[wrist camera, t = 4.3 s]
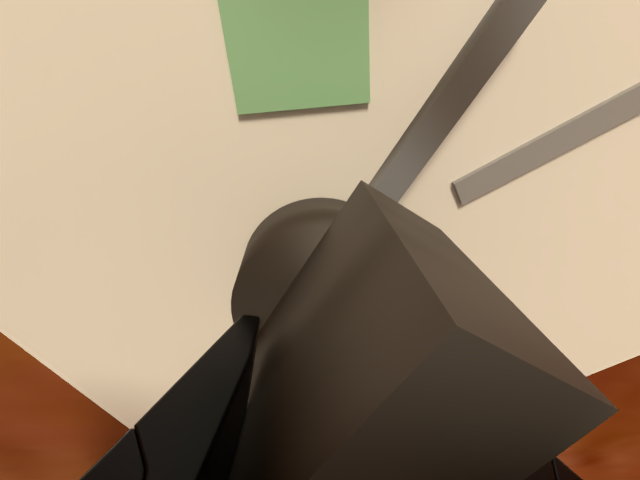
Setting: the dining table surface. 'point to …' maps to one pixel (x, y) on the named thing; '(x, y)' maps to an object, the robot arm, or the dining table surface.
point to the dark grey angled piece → (400, 328)
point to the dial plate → (298, 166)
